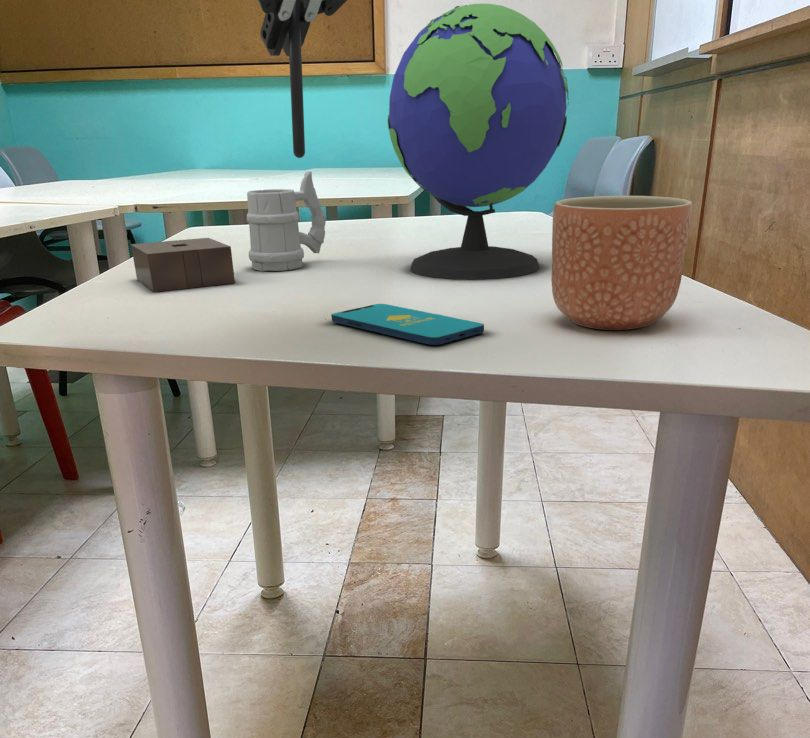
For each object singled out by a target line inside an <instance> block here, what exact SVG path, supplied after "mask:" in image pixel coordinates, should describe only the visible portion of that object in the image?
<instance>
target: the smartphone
mask: <svg viewBox="0 0 810 738" xmlns="http://www.w3.org/2000/svg"><path fill="white" fill-rule="evenodd" d="M330 317H331V322H332V323H336V324H340V325H344V326H348V327H352V328H356V329H362V330H366V331H371V332H374V333H378V334H382V335H387V336H391V337H395V338H398V339H399V338H400V339H405V340H409V341H413V342H417V343H421V344H425V345H429V346H430V345H431V346H437V345H444V344H447V343H450V342H454V341H457V340H461V339H465V338H469V337H472V336H476V335H479V334H482V333H484V332H485V324H484V323H481V322H478V321H473V320H468V319H462V318H458V317H452V316H447V315H443V314H437V313H433V312H427V311H422V310H418V309H412V308H407V307H402V306H397V305H393V304H388V303H374V304H370V305H366V306H361V307H356V308H352V309H348V310H344V311H338V312H334V313H332V314H331V315H330Z"/></svg>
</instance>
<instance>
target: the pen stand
mask: <svg viewBox="0 0 810 738" xmlns="http://www.w3.org/2000/svg"><path fill="white" fill-rule="evenodd" d="M130 248H131V254H132V258H133V265H134V269H135V276H136V277H135V278H136V280H137V281H138V282H139V283H141V284H142V285H143V286H145V288H147V289H148V290H150V291H152V292H153V293H158V292H159V293H160V292H168V291H177V290H185V289H186V290H187V289H196V288H205V287H216V286H223V285H231V284H232V285H234V284H236V279H235V272H234V271H235V270H234V263H233V261H234V260H233V254H232V247H231V245H228V244H225V243H224V242H220V241H218V240H215V239H213V238H211V237H200V238H187V239H177V240H176V239H175V240H165V241H153V242H143V243H142V242H140V243H131V244H130Z"/></svg>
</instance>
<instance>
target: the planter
mask: <svg viewBox="0 0 810 738" xmlns="http://www.w3.org/2000/svg"><path fill="white" fill-rule="evenodd" d="M692 217H693V202H692V201H691V200H689V199H684V198H679V197H669V196H654V195H598V196H597V195H596V196H581V197H570V198H564V199H561V200H557V201H555V202H554V206H553V212H552V231H551V292H552V298H553V301H554V304H555V306H556V307H557V309H558V310H559V311H560V312H561V314H562V315H564V317H565V318H567V320H569V321H570V322H572V323H573V324H575V325H578V326H581V327H585V328H588V329H595V330H605V331H623V330H624V331H625V330H627V331H628V330H635V329H641V328H645V327H648V326H650V325H652V324H654V323H655V322H657V321H658V320H660V319H662V317H664V316H665V314H667V313H668V312H669V311H670V310H671V308H672V307H673V306H674V303H675V302H676V299H677V298H678V295H679V290H680V286H681V283H682V277H683V269H684V264H685V259H686V258H685V257H686V254H687V249H688V242H689V237H690V230H691V225H692Z"/></svg>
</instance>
